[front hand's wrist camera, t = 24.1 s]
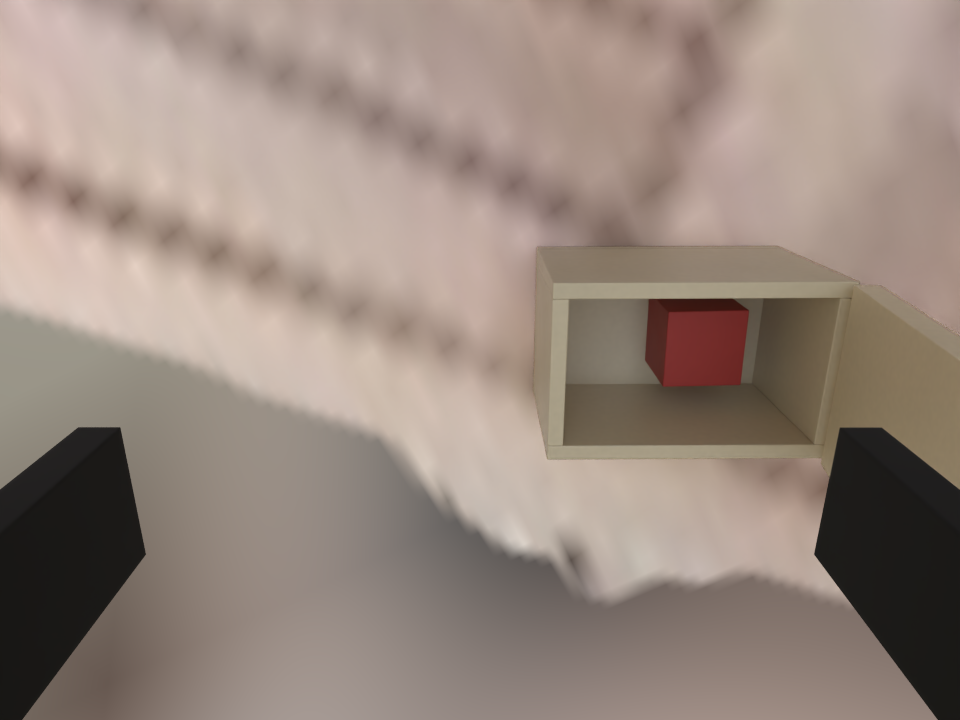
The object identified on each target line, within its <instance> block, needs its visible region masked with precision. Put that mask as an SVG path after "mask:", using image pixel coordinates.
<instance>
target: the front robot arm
mask: <svg viewBox="0 0 960 720" xmlns="http://www.w3.org/2000/svg"><path fill="white" fill-rule="evenodd" d="M145 555H146V553H145V548H144V543H143V538H142V533H141V528H140V523H139V518H138V513H137V508H136V503H135V498H134V493H133V489H132V484H131V479H130V473H129V469H128V464H127V459H126V454H125V449H124V444H123V439H122V434H121V429H120V427H119V428H118V427H116V428H114V427H110V428H107V427H106V428H104V427H103V428H102V427H101V428H99V427H94V428H93V427H92V428H91V427H88V428H87V427H82V428H81V427H80V428H77V429H76V430H74V431H73V432H72V433H71V434H70V435H68V436H67V437H66V438H64V439H63V440H62V441H61V442H59V443H58V444H57V445H56V446H54V447H53V448H52V449H51V450H49V451H48V452H47V453H46V454H44V455H43V456H42V457H41V458H39V459H38V460H37V461H36V462H34V463H33V464H32V465H31V466H29V467H28V468H27V469H26V470H24V471H23V472H22V473H21V474H19V475H18V476H17V477H15V478H14V479H13V480H12V481H10V482H9V483H8V484H7V485H5V486H4V487H3V488H2V489H0V720H22V719H23V718H24V717H25V715H26V714H27V713H28V711H29V710H30V709H31V707H32V706H33V705H34V703H35V702H36V700H37V699H38V698H39V697H40V695H41V694H42V693H43V691H44V690H45V689H46V687H47V686H48V684H49V683H50V682H51V680H52V679H53V678H54V676H55V675H56V674H57V672H58V671H59V670H60V668H61V667H62V666H63V664H64V663H65V662H66V660H67V659H68V658H69V656H70V655H71V654H72V652H73V651H74V650H75V648H76V647H77V646H78V644H79V643H80V642H81V640H82V639H83V638H84V636H85V635H86V634H87V632H88V631H89V630H90V628H91V627H92V626H93V624H94V623H95V622H96V620H97V619H98V618H99V616H100V615H101V614H102V612H103V611H104V610H105V608H106V607H107V606H108V604H109V603H110V602H111V600H112V599H113V598H114V596H115V595H116V593H117V592H118V591H119V590H120V588H121V587H122V586H123V584H124V583H125V582H126V580H127V579H128V578H129V576H130V575H131V574H132V572H133V571H134V569H135V568H136V567H137V565H138V564H139V563H140V562H141V560H142V559H143V558H144V556H145ZM814 555H815V556H816V558H817V559H818V560H819V562H820V563H821V564H822V566H823V567H824V568H825V570H826V571H827V572H828V574H829V575H830V576H831V578H832V579H833V580H834V582H835V583H836V584H837V586H838V587H839V588H840V590H841V591H842V592H843V594H844V595H845V596H846V598H847V599H848V600H849V602H850V603H851V604H852V606H853V607H854V608H855V610H856V611H857V612H858V614H859V615H860V616H861V618H862V619H863V620H864V622H865V623H866V624H867V626H868V627H869V628H870V630H871V631H872V632H873V634H874V635H875V636H876V638H877V639H878V640H879V642H880V643H881V644H882V646H883V647H884V648H885V650H886V651H887V652H888V654H889V655H890V656H891V658H892V659H893V660H894V662H895V663H896V664H897V666H898V667H899V668H900V670H901V671H902V672H903V674H904V675H905V676H906V678H907V679H908V680H909V682H910V683H911V684H912V686H913V687H914V688H915V690H916V691H917V692H918V694H919V695H920V697H921V698H922V699H923V700H924V702H925V703H926V705H927V706H928V707H929V709H930V710H931V711H932V712H933V714H934V715H935V717H936V718H937V719H938V720H960V489H958V488H957V487H956V486H955V485H953V484H952V483H951V482H950V481H948V480H947V479H946V478H945V477H943V476H942V475H941V474H940V473H938V472H937V471H936V470H935V469H933V468H932V467H931V466H929V465H928V464H927V463H926V462H924V461H923V460H922V459H921V458H919V457H918V456H917V455H916V454H914V453H913V452H912V451H911V450H909V449H908V448H907V447H906V446H904V445H903V444H902V443H901V442H899V441H898V440H897V439H896V438H894V437H893V436H892V435H891V434H889V433H888V432H887V431H886V430H884V429H883V428H882V427H840V429H839V434H838V439H837V444H836V449H835V454H834V459H833V464H832V469H831V473H830V478H829V483H828V488H827V493H826V498H825V503H824V508H823V513H822V518H821V523H820V528H819V533H818V538H817V543H816V548H815V553H814Z"/></svg>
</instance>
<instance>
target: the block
mask: <svg viewBox="0 0 960 720" xmlns="http://www.w3.org/2000/svg"><path fill="white" fill-rule="evenodd" d="M748 317H749V310H748V309H747V308H745V307H744V306H742V305H741V304H740V303H738V302H737V301H736V300H734V299H733V298H726V299H649V305H648V321H647V336H646V351H645V361H646V363H647V364H648V365H649V367H650V368H651V370H652V371H653V373H654V374H655V376H656V377H657V379H658V380H659V382H660V383H661V384H662V386H663V387H674V386H722V385H740V384H741V376H742V368H743V359H744V351H745V342H746V334H747V325H748Z"/></svg>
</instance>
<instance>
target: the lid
mask: <svg viewBox="0 0 960 720" xmlns="http://www.w3.org/2000/svg"><path fill="white" fill-rule="evenodd" d="M840 427H882V428H883V429H884V430H886V431H887V432H888V433H889V434H891V435H892V436H893V437H894V438H896V439H897V440H898V441H899V442H901V443H902V444H903V445H904V446H906V447H907V448H908V449H909V450H911V451H912V452H913V453H914V454H916V455H917V456H918V457H919V458H921V459H922V460H923V461H924V462H926V463H927V464H928V465H929V466H931V467H932V468H933V469H935V470H936V471H937V472H938V473H940V474H941V475H942V476H943V477H945V478H946V479H947V480H948V481H950V482H951V483H952V484H953V485H955V486H956V487H957V488H958V489H960V336H959V335H957V334H956V333H954V332H953V331H951V330H949V329H948V328H946V327H945V326H943V325H942V324H940V323H939V322H937V321H936V320H934V319H932V318H931V317H929V316H928V315H926V314H925V313H923V312H922V311H920V310H919V309H917V308H915V307H914V306H912V305H911V304H909V303H908V302H906V301H905V300H903V299H902V298H900V297H898V296H897V295H895V294H894V293H892V292H891V291H889V290H888V289H886V288H884V287H883V286H873V285H854V289H853V294H852V300H851V305H850V310H849V316H848V321H847V326H846V332H845V337H844V342H843V348H842V353H841V358H840V364H839V369H838V375H837V380H836V385H835V391H834V396H833V401H832V407H831V412H830V417H829V423H828V428H827V433H826V439H825V444H824V449H823V455H822V460H821V464H822V466H823V468H824V470H825V471H826V473H827V475H828V476H829V478H830V473H831V469H832V464H833V459H834V454H835V449H836V444H837V439H838V434H839V429H840Z"/></svg>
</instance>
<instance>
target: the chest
mask: <svg viewBox="0 0 960 720" xmlns="http://www.w3.org/2000/svg"><path fill="white" fill-rule="evenodd" d="M859 284H860V282H859V281H857V280H854V279H852V278H850V277H847V276H845V275H843V274H841V273H838V272H836V271H834V270H831V269H829V268H827V267H825V266H822V265H820V264H818V263H816V262H813V261H811V260H809V259H806V258H804V257H802V256H800V255H797V254H795V253H793V252H791V251H788V250H786V249H784V248H781V247H779V246H635V247H537V254H536V294H535V333H534V373H533V393H534V398H535V402H536V407H537V412H538V417H539V422H540V427H541V432H542V436H543V441H544V446H545V451H546V456H547V459H728V458H822V455H823V449H824V444H825V439H826V433H827V428H828V423H829V417H830V412H831V407H832V401H833V396H834V391H835V385H836V380H837V375H838V369H839V364H840V358H841V353H842V348H843V342H844V337H845V332H846V326H847V321H848V316H849V310H850V305H851V300H852V294H853V289H854V285H859ZM726 298H733V299H734V300H736V301H737V302H738V303H740V304H741V305H742V306H744V307H745V308H747V309H748V310H749V317H748V325H747V334H746V342H745V351H744V359H743V368H742V376H741V384H740V385H722V386H674V387H663V386H662V384H661V383H660V382H659V380H658V379H657V377H656V376H655V374H654V373H653V371H652V370H651V368H650V367H649V365H648V364H647V363H646V361H645V351H646V336H647V321H648V305H649V299H726Z"/></svg>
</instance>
